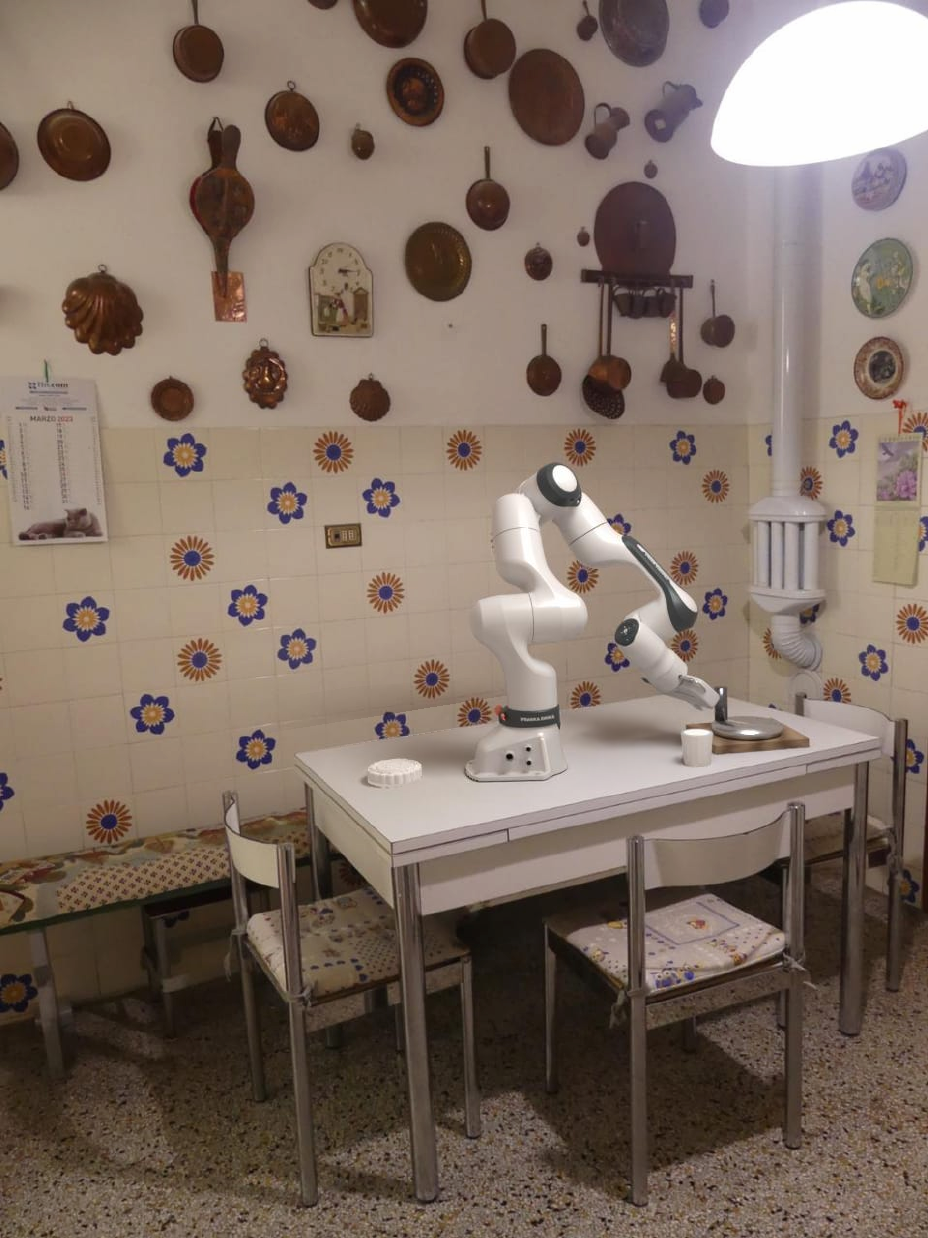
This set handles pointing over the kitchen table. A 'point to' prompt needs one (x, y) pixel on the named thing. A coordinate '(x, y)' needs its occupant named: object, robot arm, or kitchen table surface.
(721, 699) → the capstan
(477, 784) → the kitchen table surface
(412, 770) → the mooncake
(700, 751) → the white fluted cup
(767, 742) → the dial board
